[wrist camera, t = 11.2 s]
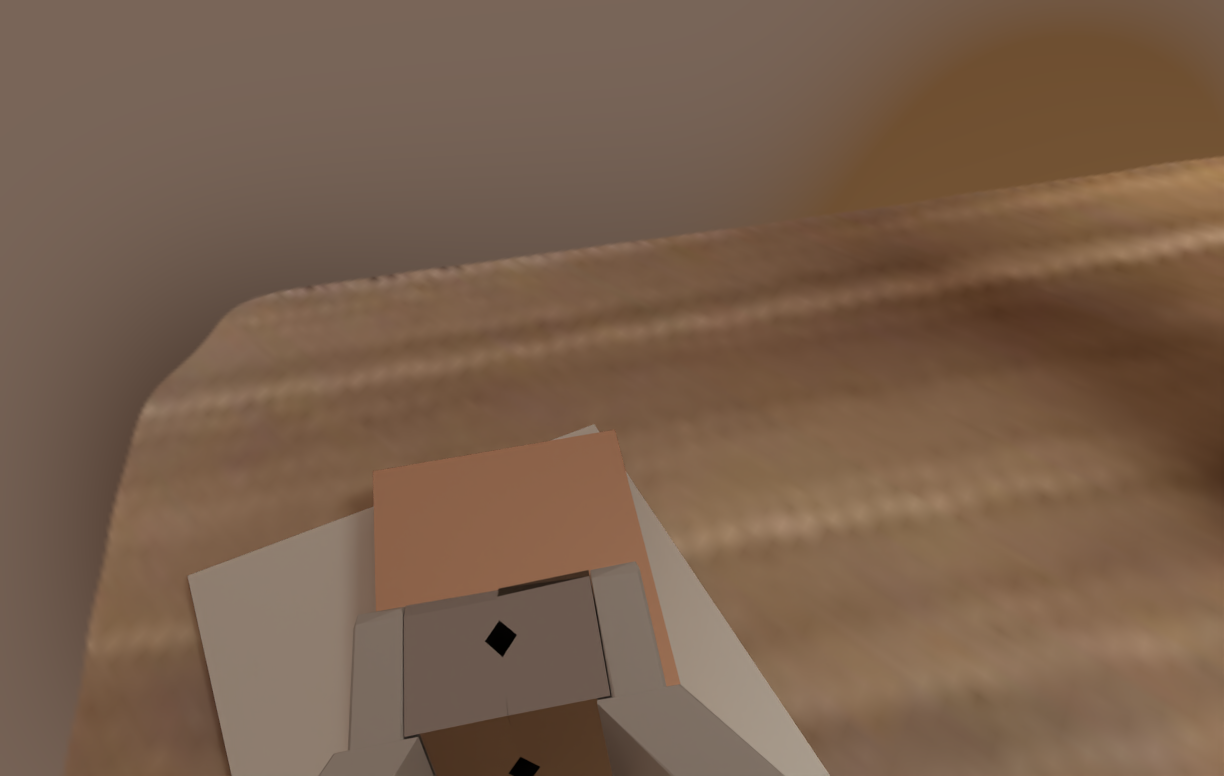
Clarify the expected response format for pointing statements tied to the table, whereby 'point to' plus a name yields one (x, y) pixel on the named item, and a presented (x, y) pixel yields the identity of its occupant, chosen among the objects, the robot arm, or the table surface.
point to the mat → (345, 587)
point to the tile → (509, 524)
